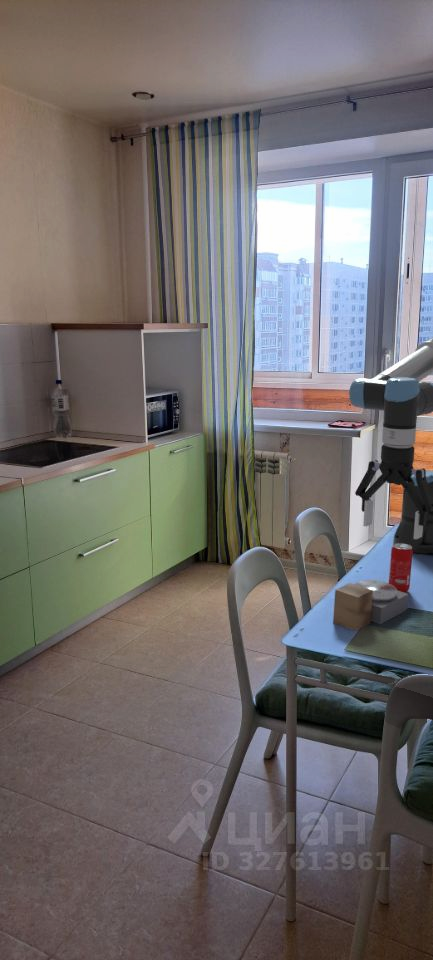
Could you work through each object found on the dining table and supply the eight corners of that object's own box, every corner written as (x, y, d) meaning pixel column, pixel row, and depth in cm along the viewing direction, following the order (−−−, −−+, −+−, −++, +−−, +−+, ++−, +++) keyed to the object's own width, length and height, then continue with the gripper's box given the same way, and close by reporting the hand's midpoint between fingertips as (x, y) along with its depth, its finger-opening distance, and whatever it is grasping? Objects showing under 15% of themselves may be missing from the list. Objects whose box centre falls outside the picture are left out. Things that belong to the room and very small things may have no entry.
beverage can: (385, 592, 177) (389, 547, 175) (390, 585, 182) (394, 541, 179) (406, 596, 175) (410, 550, 172) (411, 589, 179) (415, 545, 177)
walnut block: (348, 615, 163) (350, 582, 161) (370, 623, 159) (372, 590, 157) (333, 622, 159) (335, 589, 157) (355, 631, 155) (358, 597, 153)
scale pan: (368, 582, 172) (368, 577, 172) (404, 594, 166) (405, 588, 165) (345, 593, 165) (345, 587, 165) (382, 606, 159) (382, 599, 158)
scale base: (367, 596, 174) (368, 581, 174) (407, 609, 167) (408, 593, 166) (338, 610, 166) (339, 594, 165) (379, 625, 158) (380, 608, 157)
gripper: (344, 439, 169) (339, 523, 175) (440, 455, 153) (432, 547, 158) (361, 435, 175) (356, 516, 180) (456, 450, 158) (448, 539, 163)
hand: (392, 531), depth 169 cm, fingers open, 13 cm apart
